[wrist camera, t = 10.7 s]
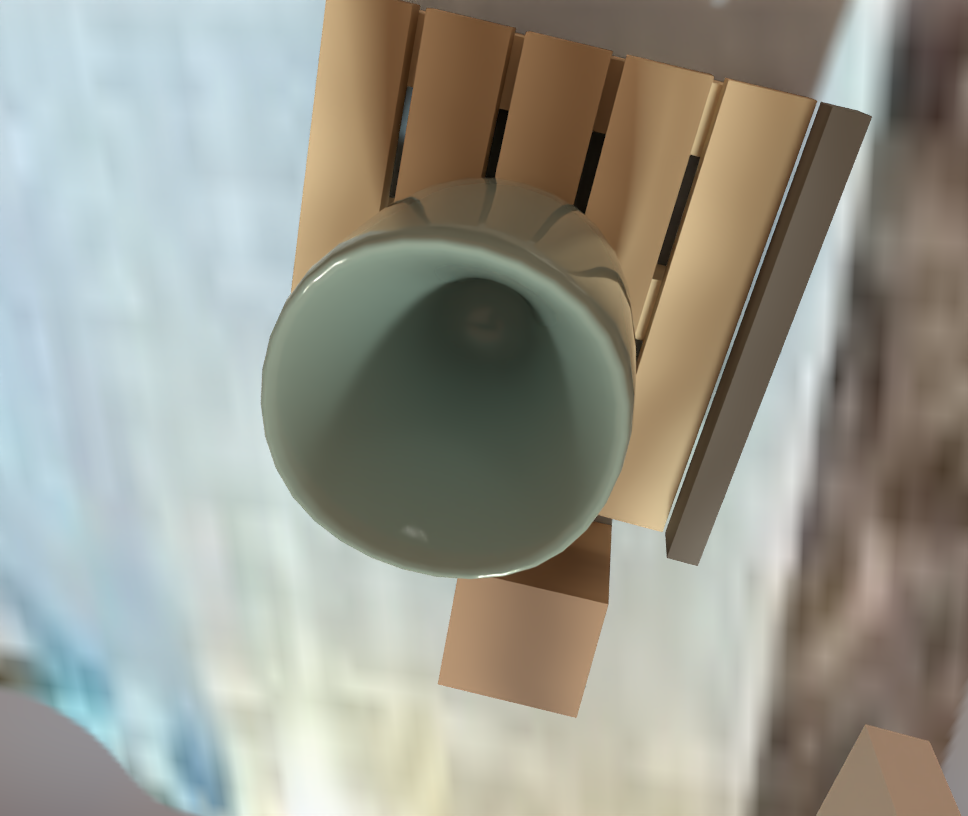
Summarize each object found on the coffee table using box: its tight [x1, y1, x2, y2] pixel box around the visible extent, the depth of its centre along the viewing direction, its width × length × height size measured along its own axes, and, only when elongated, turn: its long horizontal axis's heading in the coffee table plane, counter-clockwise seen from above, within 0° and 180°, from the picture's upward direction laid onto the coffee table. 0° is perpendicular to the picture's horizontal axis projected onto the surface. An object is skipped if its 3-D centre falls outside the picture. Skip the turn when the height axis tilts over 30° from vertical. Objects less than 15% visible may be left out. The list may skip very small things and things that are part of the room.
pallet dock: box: [291, 0, 872, 566], centre depth 27 cm, size 15×14×4 cm
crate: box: [438, 521, 612, 718], centre depth 32 cm, size 5×5×5 cm
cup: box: [261, 178, 636, 579], centre depth 22 cm, size 8×8×10 cm
